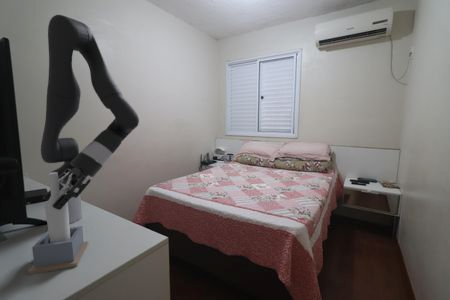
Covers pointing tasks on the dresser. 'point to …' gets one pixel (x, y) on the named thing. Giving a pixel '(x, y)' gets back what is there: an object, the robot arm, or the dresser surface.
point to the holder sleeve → (58, 252)
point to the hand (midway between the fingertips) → (50, 204)
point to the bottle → (56, 213)
